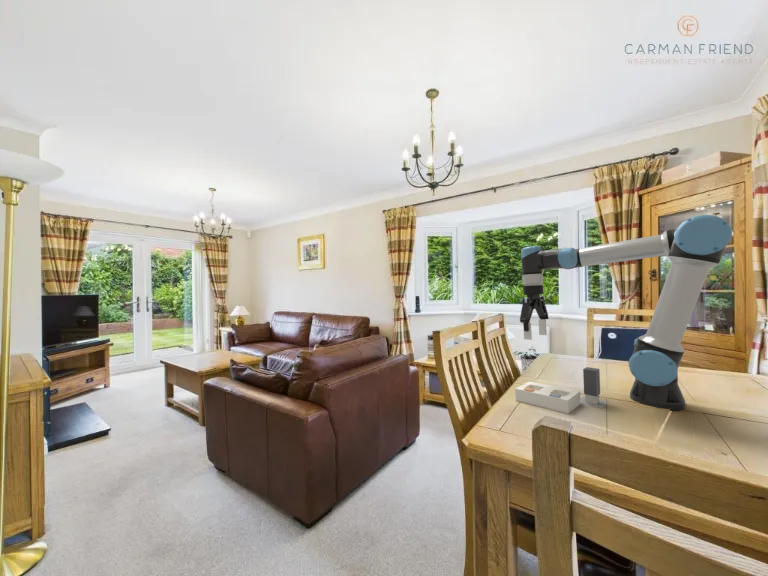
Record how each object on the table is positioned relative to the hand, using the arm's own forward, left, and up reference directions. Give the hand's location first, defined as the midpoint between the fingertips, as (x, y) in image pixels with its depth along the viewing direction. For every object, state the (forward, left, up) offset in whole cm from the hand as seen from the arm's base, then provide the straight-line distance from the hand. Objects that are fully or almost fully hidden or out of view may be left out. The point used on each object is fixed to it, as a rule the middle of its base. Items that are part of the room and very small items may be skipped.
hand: (535, 337), depth 129 cm
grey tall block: (-19, 0, -22) cm, 29 cm away
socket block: (-8, +10, -22) cm, 26 cm away
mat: (-19, 0, -22) cm, 29 cm away
